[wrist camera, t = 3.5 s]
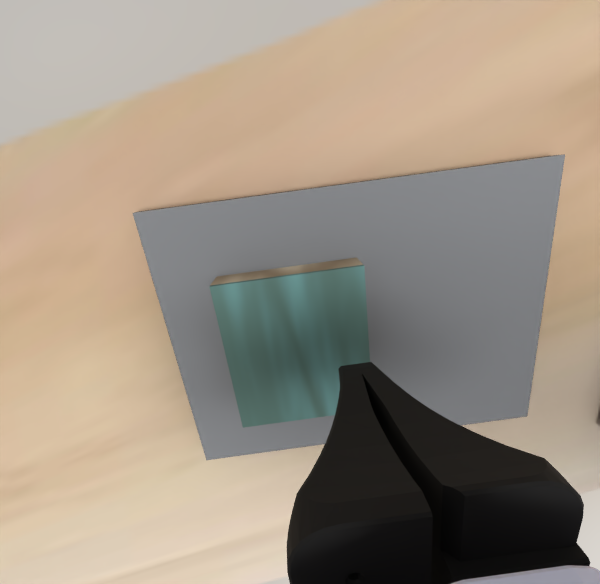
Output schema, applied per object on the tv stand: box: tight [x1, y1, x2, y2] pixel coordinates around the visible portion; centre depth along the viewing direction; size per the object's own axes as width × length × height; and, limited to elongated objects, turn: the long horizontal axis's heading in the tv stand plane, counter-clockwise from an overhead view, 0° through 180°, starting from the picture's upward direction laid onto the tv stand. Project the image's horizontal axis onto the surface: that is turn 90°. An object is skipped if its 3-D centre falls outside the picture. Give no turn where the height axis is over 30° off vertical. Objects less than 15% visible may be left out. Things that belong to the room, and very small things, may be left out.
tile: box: [210, 258, 370, 428], centre depth 16 cm, size 2×8×7 cm
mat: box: [133, 155, 565, 460], centre depth 17 cm, size 20×15×1 cm
